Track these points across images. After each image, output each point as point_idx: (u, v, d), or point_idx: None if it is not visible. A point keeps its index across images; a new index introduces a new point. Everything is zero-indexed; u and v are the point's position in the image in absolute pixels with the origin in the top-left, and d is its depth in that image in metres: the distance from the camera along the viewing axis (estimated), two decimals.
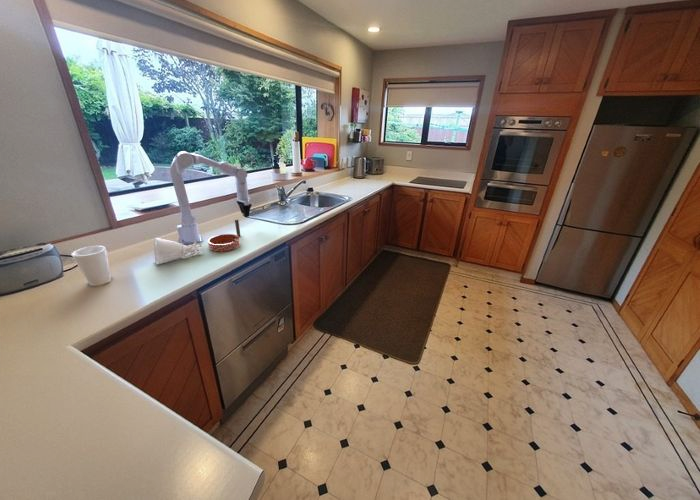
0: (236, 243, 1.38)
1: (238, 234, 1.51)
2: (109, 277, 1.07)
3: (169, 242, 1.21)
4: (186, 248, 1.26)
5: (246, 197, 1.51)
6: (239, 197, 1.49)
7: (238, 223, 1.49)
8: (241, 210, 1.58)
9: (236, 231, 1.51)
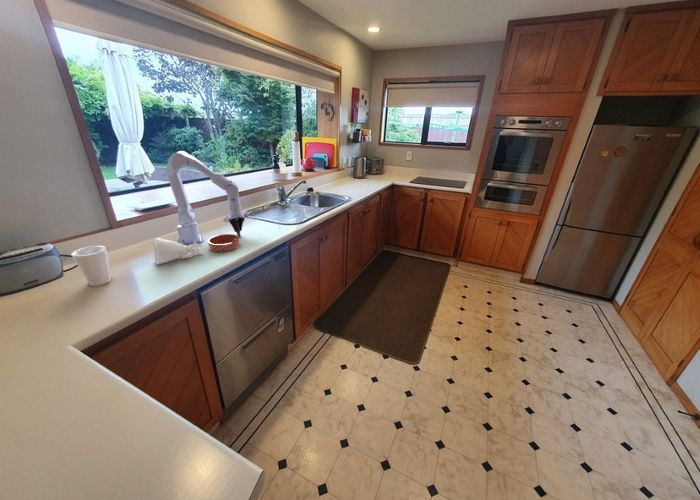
0: (236, 243, 1.38)
1: (238, 234, 1.51)
2: (109, 277, 1.07)
3: (169, 242, 1.21)
4: (186, 248, 1.26)
5: (233, 214, 1.44)
6: None
7: (238, 223, 1.49)
8: None
9: None
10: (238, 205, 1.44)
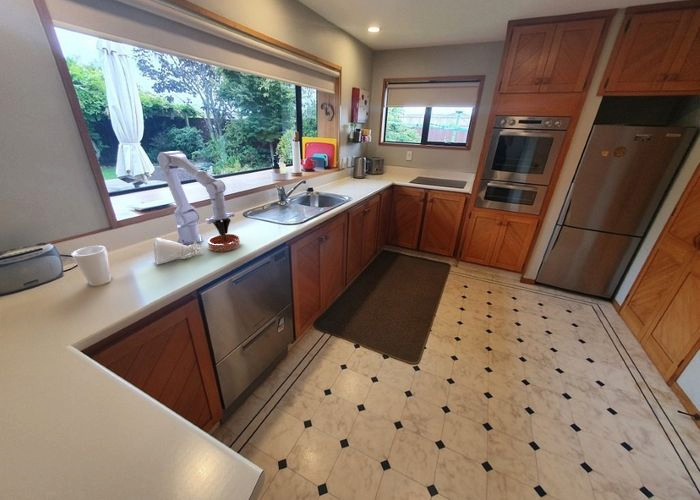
0: (236, 243, 1.38)
1: (224, 237, 1.38)
2: (109, 277, 1.07)
3: (169, 242, 1.21)
4: (186, 248, 1.26)
5: (217, 215, 1.31)
6: None
7: (223, 225, 1.36)
8: None
9: None
10: (219, 206, 1.30)
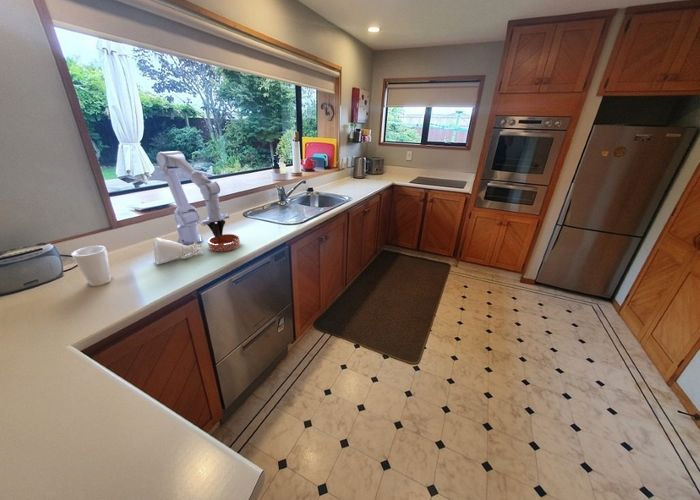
0: (236, 243, 1.38)
1: (218, 239, 1.36)
2: (109, 277, 1.07)
3: (169, 242, 1.21)
4: (186, 248, 1.26)
5: (211, 217, 1.30)
6: None
7: (218, 227, 1.34)
8: None
9: None
10: (213, 207, 1.28)
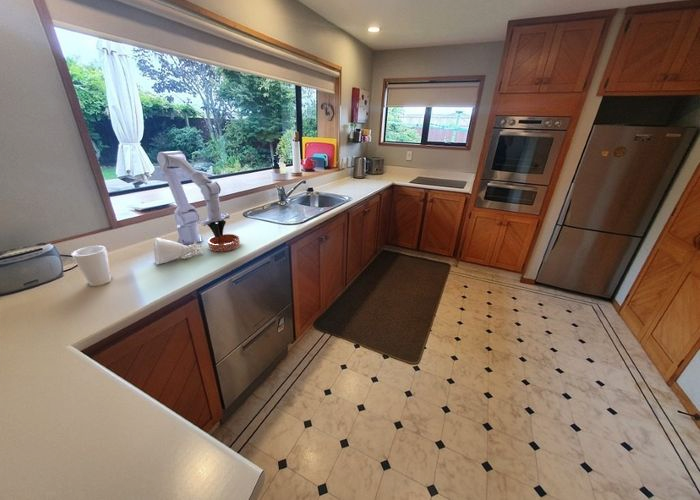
0: (236, 243, 1.38)
1: (219, 239, 1.36)
2: (109, 277, 1.07)
3: (169, 242, 1.21)
4: (186, 248, 1.26)
5: (212, 217, 1.29)
6: None
7: (218, 227, 1.34)
8: None
9: None
10: (213, 208, 1.28)
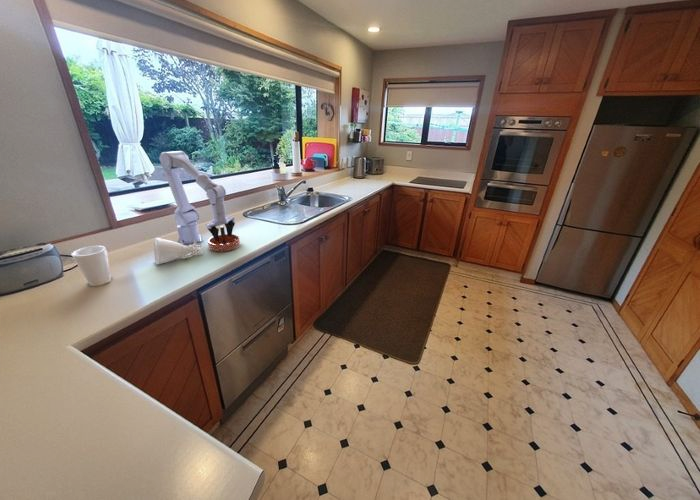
0: (236, 243, 1.38)
1: (224, 242, 1.39)
2: (109, 277, 1.07)
3: (169, 242, 1.21)
4: (186, 248, 1.26)
5: (217, 220, 1.32)
6: None
7: None
8: (227, 232, 1.41)
9: (222, 239, 1.38)
10: (219, 211, 1.30)
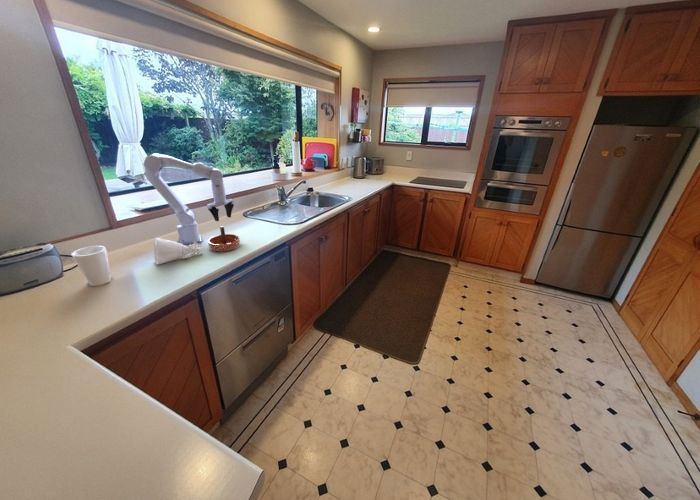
0: (236, 243, 1.38)
1: (224, 242, 1.39)
2: (109, 277, 1.07)
3: (169, 242, 1.21)
4: (186, 248, 1.26)
5: (217, 201, 1.41)
6: None
7: None
8: (227, 213, 1.50)
9: (222, 239, 1.38)
10: (223, 191, 1.40)
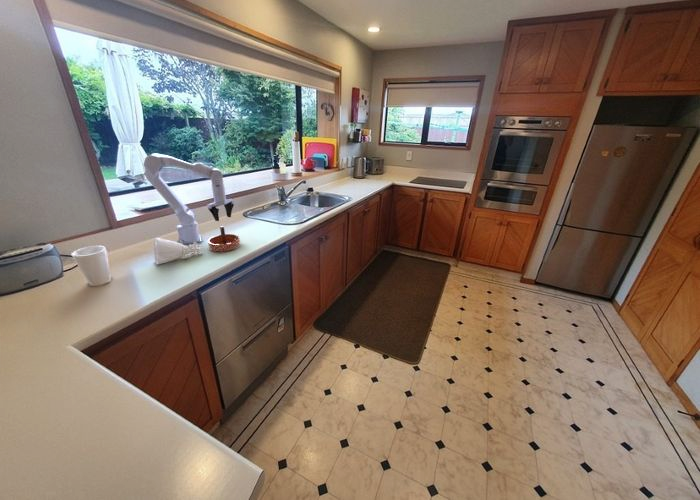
0: (236, 243, 1.38)
1: (224, 242, 1.39)
2: (109, 277, 1.07)
3: (169, 242, 1.21)
4: (186, 248, 1.26)
5: (217, 201, 1.41)
6: None
7: None
8: (227, 213, 1.50)
9: (222, 239, 1.38)
10: (223, 191, 1.41)
